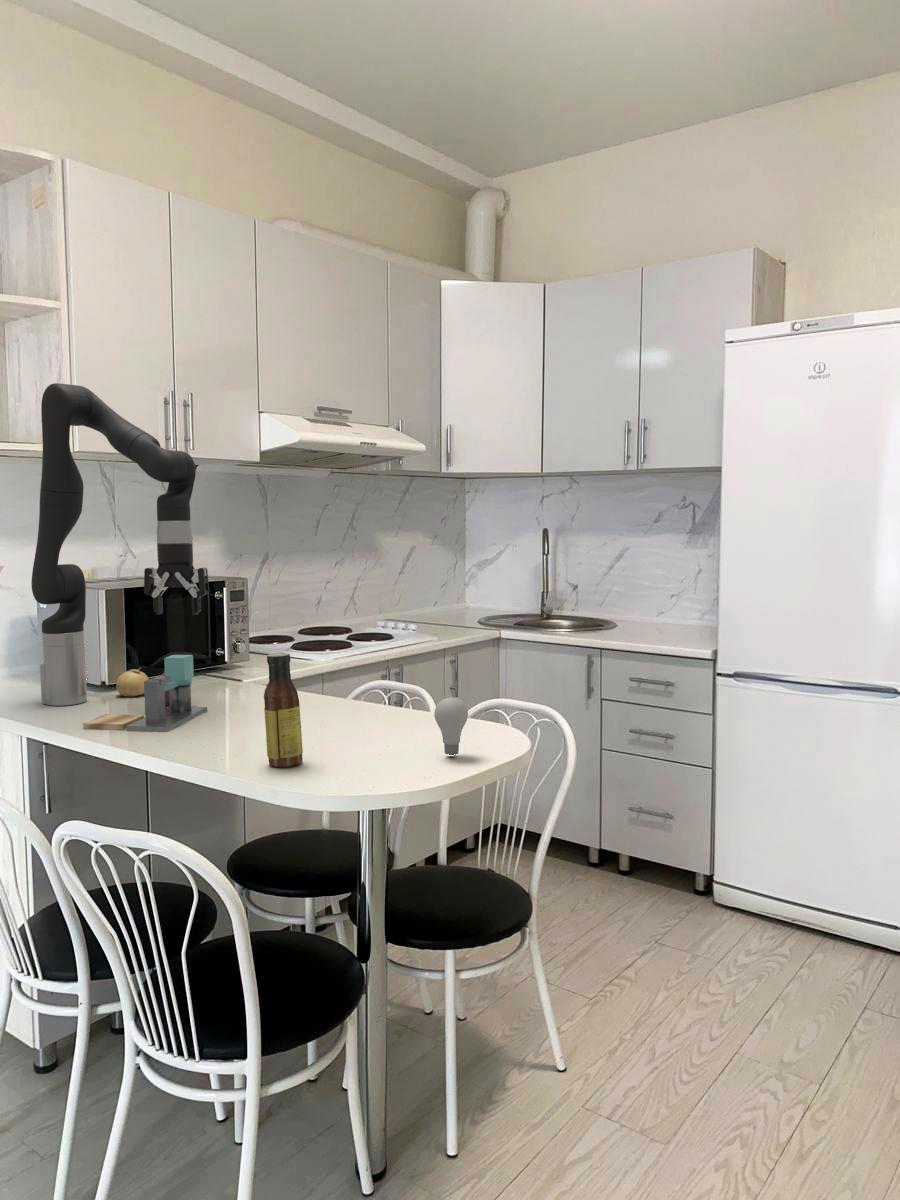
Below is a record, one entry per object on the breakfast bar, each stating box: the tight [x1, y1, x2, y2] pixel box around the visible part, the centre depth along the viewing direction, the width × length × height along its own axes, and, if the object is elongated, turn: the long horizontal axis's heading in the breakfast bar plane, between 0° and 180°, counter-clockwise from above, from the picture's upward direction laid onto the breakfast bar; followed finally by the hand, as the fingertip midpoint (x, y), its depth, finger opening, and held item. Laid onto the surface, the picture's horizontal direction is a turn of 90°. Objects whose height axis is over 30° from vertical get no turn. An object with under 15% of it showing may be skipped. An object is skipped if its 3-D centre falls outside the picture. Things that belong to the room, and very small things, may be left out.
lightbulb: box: [433, 697, 469, 755], centre depth 166 cm, size 6×6×11 cm
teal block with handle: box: [163, 654, 195, 692], centre depth 201 cm, size 5×12×6 cm, turn 171°
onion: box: [115, 667, 150, 698], centre depth 228 cm, size 8×8×7 cm
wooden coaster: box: [82, 713, 145, 731], centre depth 196 cm, size 9×9×1 cm
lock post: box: [126, 675, 208, 733], centre depth 199 cm, size 9×20×10 cm, turn 171°
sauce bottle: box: [263, 652, 304, 768], centre depth 162 cm, size 6×6×20 cm
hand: (177, 614), depth 204 cm, fingers open, 8 cm apart
